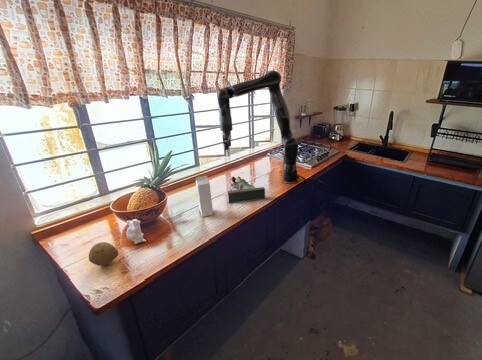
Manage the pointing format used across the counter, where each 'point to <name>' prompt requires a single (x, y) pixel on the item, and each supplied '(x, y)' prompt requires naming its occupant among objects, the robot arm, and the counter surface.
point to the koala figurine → (134, 231)
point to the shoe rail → (246, 194)
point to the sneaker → (239, 184)
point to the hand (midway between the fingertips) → (228, 148)
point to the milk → (204, 195)
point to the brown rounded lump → (102, 254)
